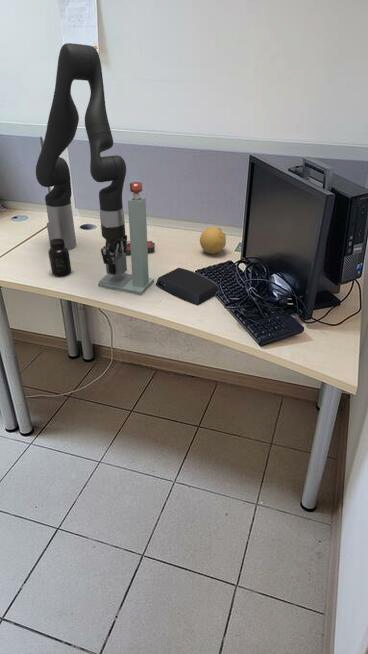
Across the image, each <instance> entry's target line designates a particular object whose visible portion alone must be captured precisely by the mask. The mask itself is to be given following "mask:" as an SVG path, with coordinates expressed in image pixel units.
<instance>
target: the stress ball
mask: <svg viewBox="0 0 368 654" xmlns="http://www.w3.org/2000/svg"><path fill="white" fill-rule="evenodd" d="M226 237H227V236H226V234H225V233H224V231H223V230H222V229H221V228H220V227H215V226H214V227H213V226H211V227H207V228H206V229H204V230H203V231H202V232H201V234H200V237H199V245H200V247H201V249H202V250H203V251H204V252H206V253H208V254H211V255H215V254H217V253H220V252H221V251H222V250H224V248H225V247H226V244H227V241H226V240H227V238H226Z"/></svg>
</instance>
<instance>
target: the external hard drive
mask: <svg viewBox="0 0 368 654" xmlns="http://www.w3.org/2000/svg"><path fill="white" fill-rule="evenodd" d="M155 287H157V288H158V289H160V290H161V291H163V292H165V293H166V294H169V295H171V296H173V297H175V298H177V299H180V300H182V301H184V302H186V303H188V304H192V305H195V306H198V307H199V306H200V305H201V304H204V303H205V302H207V301H208V300H210V299H212V298H215V294H216V292H217V291H218V290H219V289H220V286H219V285H218V284H217V283H216V282H215V281H214V280H212V279H210V278H208V277H206V276H204V275H202V274H200V273H197V272H196V271H193V270H189V269H186V268H183V267H177V268H175V269H173V270H171V271H168V272H167V273H165V274H162V275H161V276H158V278H157V279H156V282H155ZM220 290H221V289H220Z"/></svg>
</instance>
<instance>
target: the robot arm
mask: <svg viewBox="0 0 368 654" xmlns="http://www.w3.org/2000/svg"><path fill="white" fill-rule="evenodd" d="M56 67H57V68H56V76H55V87H54V92H53V98H52V102H51V107H50V109H49V114H48V119H47V120H48V121H47V125H46V130H45V136H44V139H43V143H42V146H41V150H40V153H39V156H38V158H37V162H36V165H35V177H36V181H37V182H38V184H39V185H40V186H41V187H44V188H52V187H53V188H52V189H51V190H50V191H49V192H48V193H47V194H46V195H45V196H44V200H45V201H44V202H45V207H46V213H47V220H48V222H46V228H47V233H48V240H49V242H50V241H51V240H53V239H63V240H64V243H65V247H67V248H68V250H72V249H74V248H76V246H77V239H76V231H75V221H74V215H73V207H72V201H71V200H72V183H71V182H72V181H71V172H70V168H69V164H68V163H67V161H66V160H65V159H64V158H63V157H60V156H61V155H62V154H63V153H64V151H65V150H66V149H67V148H68V147H69V145H71V143H72V141H74V139H75V136H76V132H77V129H78V126H79V122H80V115H79V112H78V111H79V110H78V108H77V106H76V104H75V102H74V99H73V96H72V91H71V90H72V84H73V82H74V81H86V82H88V85H89V88H90V89H89V90H90V95H89V101H88V104H87V106H86V110H85V114H84V126H85V132H86V135H87V139H88V143H89V150H90V153H89V154H90V161H89V162H90V167H89V168H90V169H89V171H90V176H91V178H92V179H93V180H94V181H95V182H97V183H106V182H107V183H108V182H111V183H110V184H109V185H108V186H106V187H103V188H102V189H100V190H99V191H98V199H99V200H98V201H99V218H100V219H99V221H100V229H101V236H102V238H104V240H105V246H106V247H105V248H103V247H101V249H100V252H101V257H102V261H103V264H104V265H106V264H108V265H109V273H110V274H116V267H115V258H116V257H117V252H119V253H126V251H127V242H128V235H127V234H126V224H125V211H124V206H123V190H124V184H125V179H126V175H127V164H126V162H125V159H124V158H123V157H122V156H121V155H115V154H114V155H108V156H101V153H102V152H105V151H108V150H110V149H112V148H113V146H114V138H113V134H112V129H111V126H110V123H109V119H108V114H107V108H106V100H105V99H106V98H105V88H104V80H103V72H102V71H103V69H102V63H101V58H100V54H99V52H98V50H97V48H96V47H94V46H92V45H89V44H81V43H80V44H78V43H71V42H70V43H69V42H68V43H64V44H62V46H61V48H60V51H59V54H58V59H57V66H56ZM123 246H124V247H123ZM110 253H114V255H113V254H110ZM111 257H112V259H111ZM106 259H107V260H106Z"/></svg>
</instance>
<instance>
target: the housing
mask: <svg viewBox="0 0 368 654" xmlns="http://www.w3.org/2000/svg"><path fill="white" fill-rule="evenodd" d="M110 254H113V255H114V253H110ZM111 259H112V257H111ZM106 260H107V259H106ZM127 264H128V263H127V256H126V254H125V253H119V252H117V257H116V258H115V267H116V274H111V275H116V276H121V275H122V274H123V273H125V272H126V271H127V270H128V267H127V266H128V265H127ZM105 267H106V275H107V274H110V273H109V265H108V264H105Z"/></svg>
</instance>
